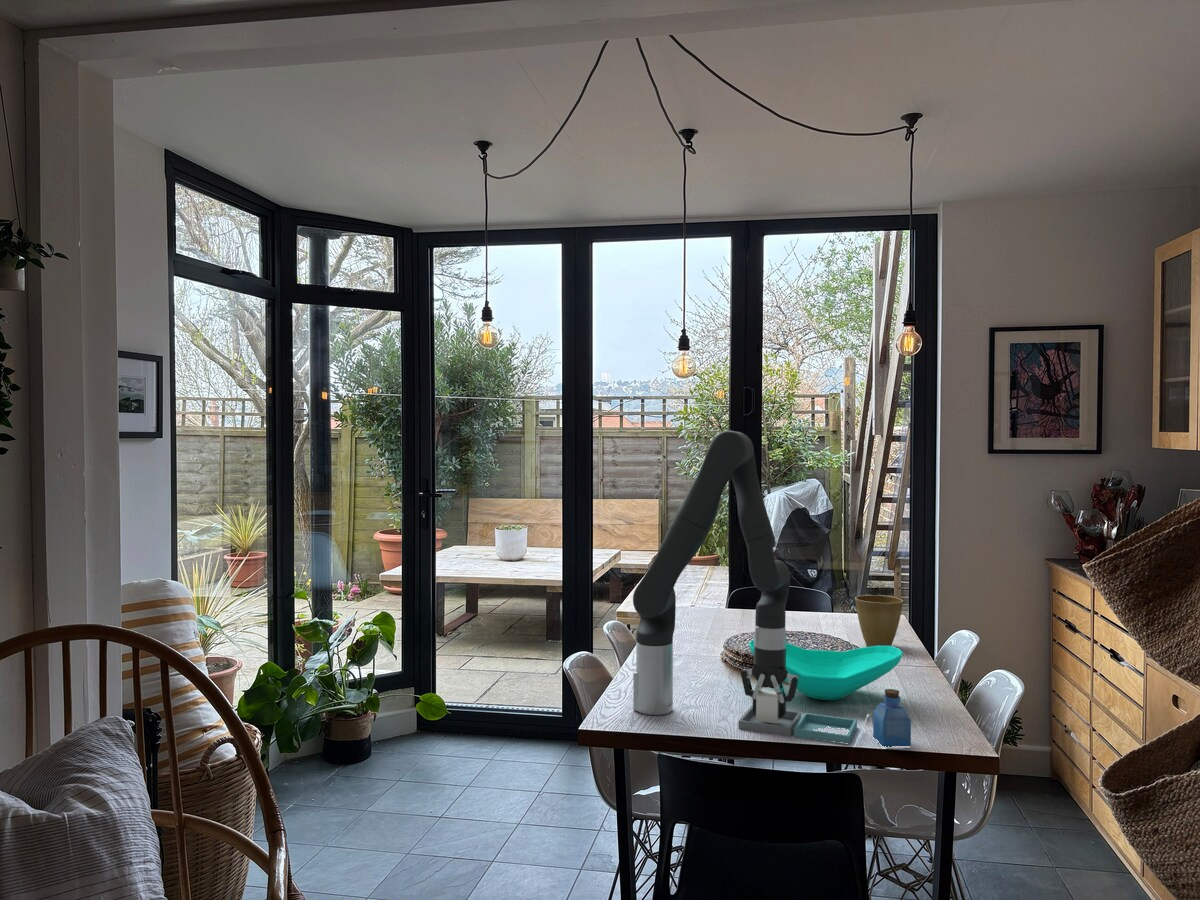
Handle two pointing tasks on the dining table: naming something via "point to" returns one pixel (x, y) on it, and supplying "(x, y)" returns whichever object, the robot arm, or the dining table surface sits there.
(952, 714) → the dining table surface
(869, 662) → the table top decor
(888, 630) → the plant pot
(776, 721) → the stone block
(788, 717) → the charcoal tray
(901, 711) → the perfume bottle
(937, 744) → the dining table surface
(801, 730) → the teal tray
